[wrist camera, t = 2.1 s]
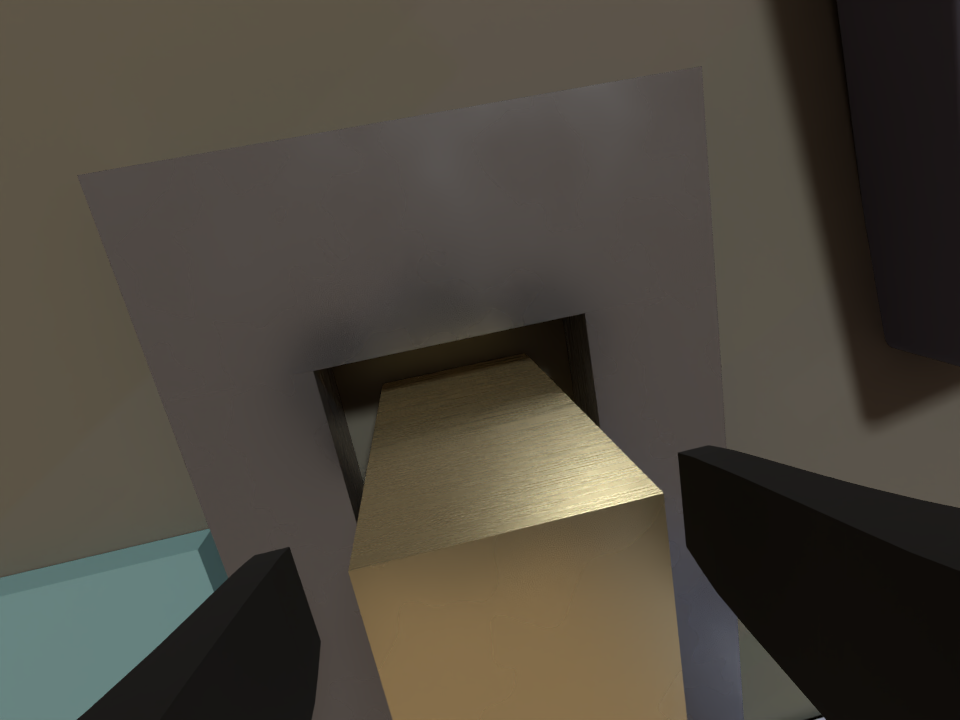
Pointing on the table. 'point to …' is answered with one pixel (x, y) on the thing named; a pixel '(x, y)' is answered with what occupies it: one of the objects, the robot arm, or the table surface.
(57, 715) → the pad
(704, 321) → the grey square-hole board
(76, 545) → the table surface
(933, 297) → the calculator
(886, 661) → the robot arm
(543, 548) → the wooden block
